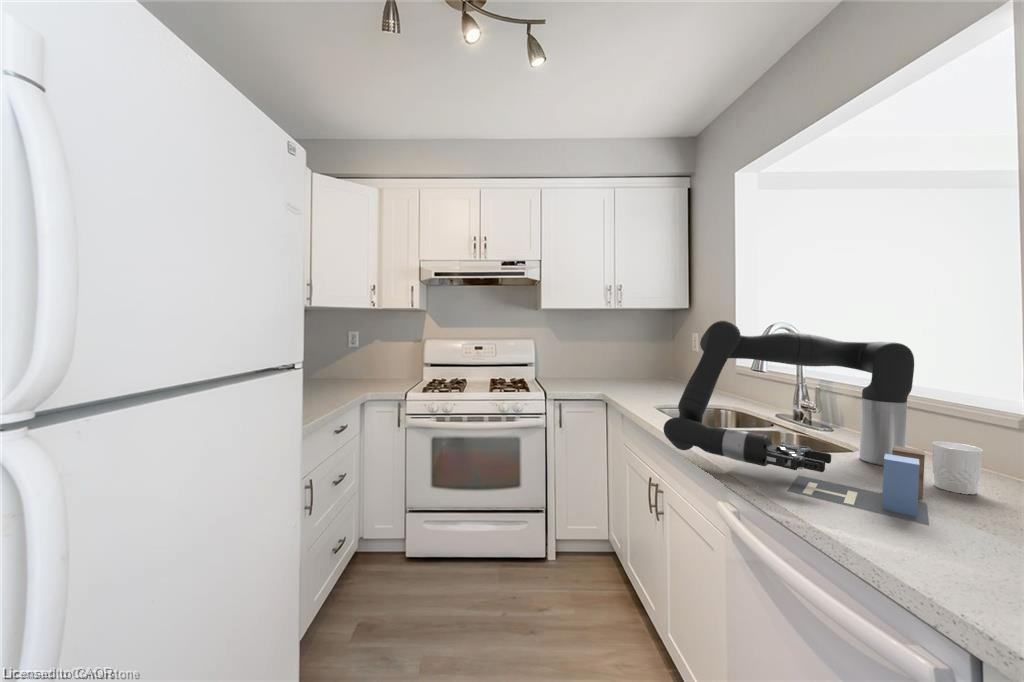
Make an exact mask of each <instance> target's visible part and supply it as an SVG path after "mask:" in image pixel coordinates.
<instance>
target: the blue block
mask: <svg viewBox="0 0 1024 682" xmlns="http://www.w3.org/2000/svg"><path fill="white" fill-rule="evenodd" d="M919 467H920V464H919V459H915V458H909V457H903V456H897V455H890V454H885V456H884V466H883V472H882V473H883V475H882V476H883V477H882V478H883V479H882V493H883V497H882V509H886V510H890V511H895V512H899V513H903V514H908V515H912V516H916V517H917V514H918V501H919V498H918V490H919Z"/></svg>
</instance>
